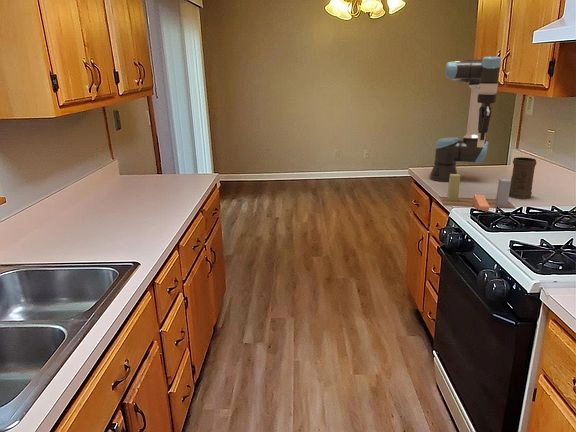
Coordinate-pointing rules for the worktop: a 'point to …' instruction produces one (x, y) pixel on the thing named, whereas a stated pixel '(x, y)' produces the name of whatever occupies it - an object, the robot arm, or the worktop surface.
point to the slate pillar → (503, 192)
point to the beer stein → (522, 178)
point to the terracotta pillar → (480, 203)
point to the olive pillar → (453, 187)
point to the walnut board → (471, 203)
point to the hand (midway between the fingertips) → (480, 146)
